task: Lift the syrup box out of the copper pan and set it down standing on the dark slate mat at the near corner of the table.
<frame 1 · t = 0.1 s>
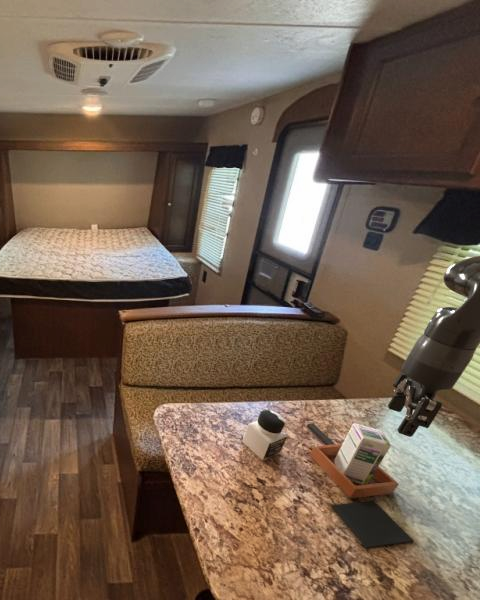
hand: (398, 421, 69), 25 cm above the table, tool pointing down, fingers open, 8 cm apart
pan: (348, 473, 84), on the table
mat: (369, 523, 73), on the table
syrup box: (348, 473, 84), resting in pan
medicine bottle: (260, 448, 91), on the table
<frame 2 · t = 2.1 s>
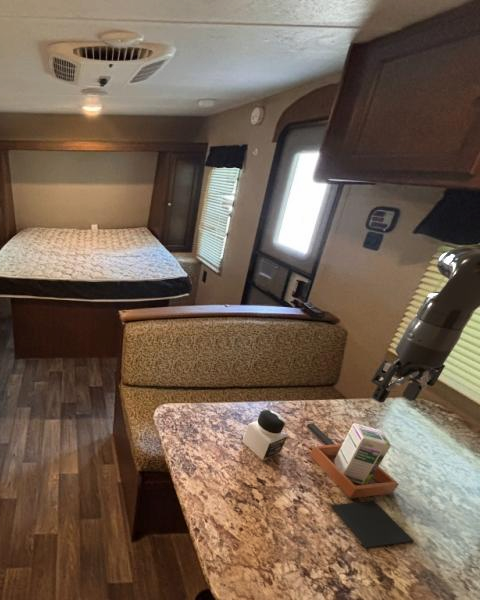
hand: (392, 399, 74), 25 cm above the table, tool pointing down, fingers open, 8 cm apart
nothing on the table moved.
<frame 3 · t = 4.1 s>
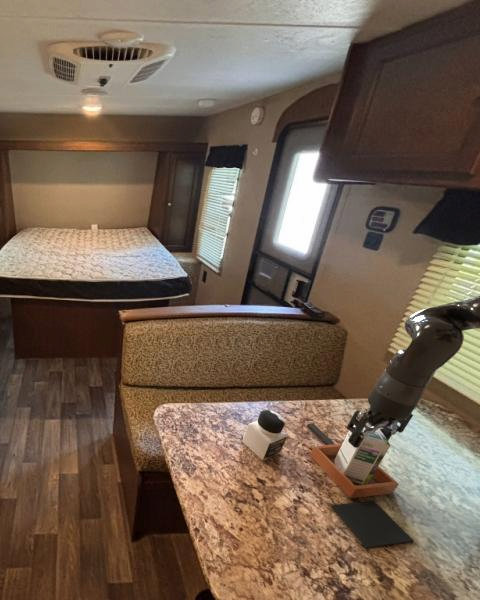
hand: (366, 443, 80), 11 cm above the table, tool pointing down, fingers closed on syrup box, 7 cm apart
syrup box: (348, 473, 84), resting in pan, touching gripper
everything else where it was.
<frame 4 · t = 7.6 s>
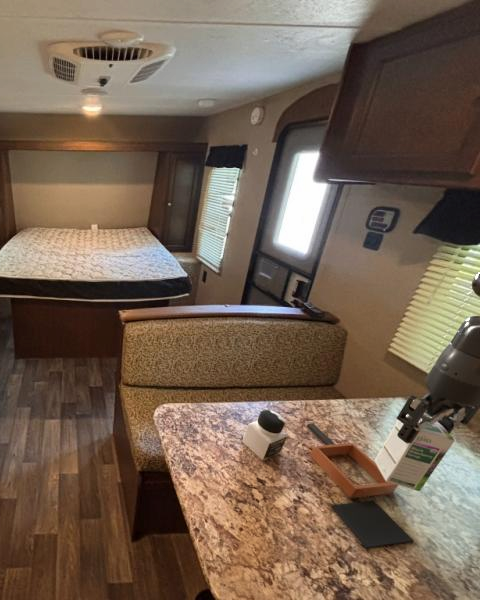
hand: (420, 438, 64), 25 cm above the table, tool pointing down, fingers closed on syrup box, 7 cm apart
syrup box: (394, 475, 68), point 14 cm above the table, touching gripper
everything else where it was.
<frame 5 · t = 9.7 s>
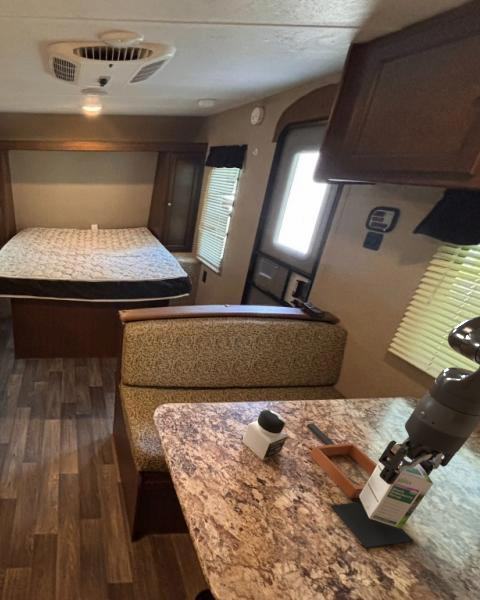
hand: (401, 478, 66), 15 cm above the table, tool pointing down, fingers closed on syrup box, 7 cm apart
syrup box: (377, 512, 71), point 4 cm above the table, touching gripper
everything else where it was.
when the fingers open (11 cm above the table, at t = 11.4 s): syrup box stays where it is, resting on mat.
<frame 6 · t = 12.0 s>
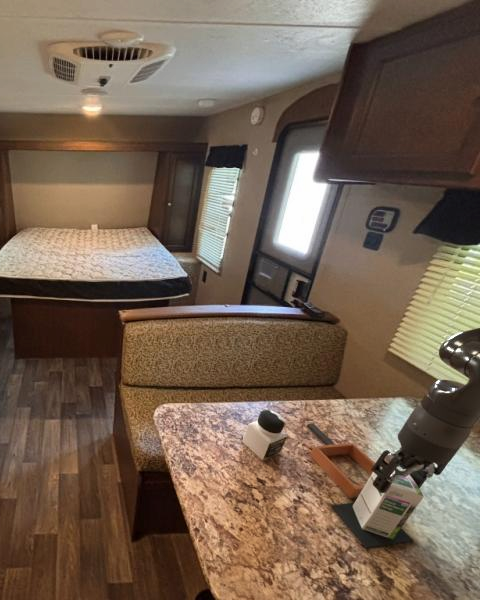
hand: (395, 487, 67), 13 cm above the table, tool pointing down, fingers open, 8 cm apart
syrup box: (370, 522, 72), resting on mat
everything else where it was.
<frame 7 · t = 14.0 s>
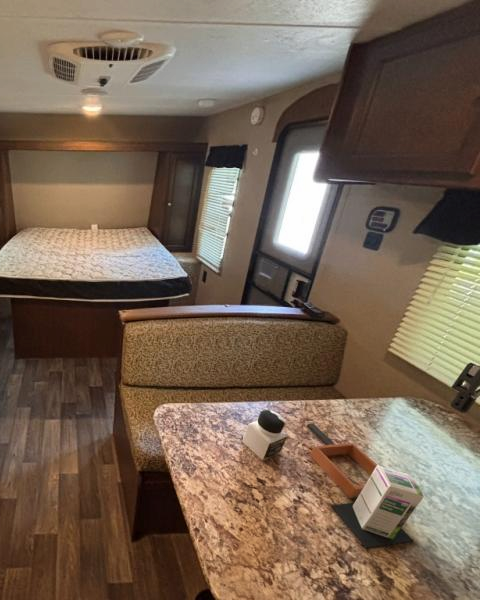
hand: (475, 408, 62), 32 cm above the table, tool pointing down, fingers open, 8 cm apart
nothing on the table moved.
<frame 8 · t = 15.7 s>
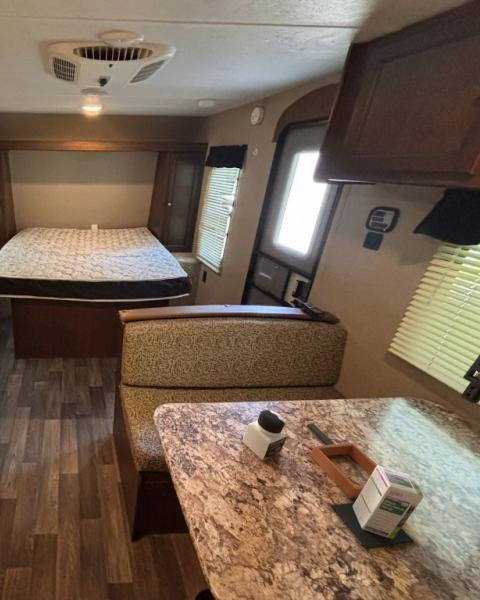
nothing on the table moved.
at the end: syrup box inside the target area on the mat (0.1 cm from its centre), point 0.2 cm above the mat's base; syrup box tilted 0°; the gripper is holding nothing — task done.
